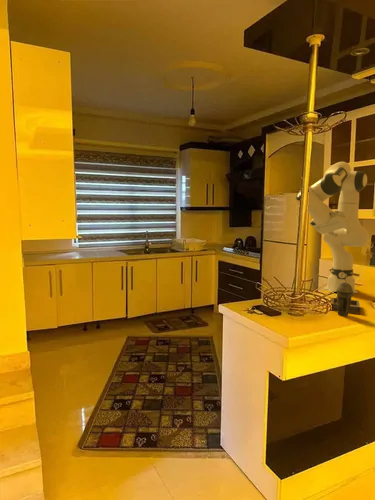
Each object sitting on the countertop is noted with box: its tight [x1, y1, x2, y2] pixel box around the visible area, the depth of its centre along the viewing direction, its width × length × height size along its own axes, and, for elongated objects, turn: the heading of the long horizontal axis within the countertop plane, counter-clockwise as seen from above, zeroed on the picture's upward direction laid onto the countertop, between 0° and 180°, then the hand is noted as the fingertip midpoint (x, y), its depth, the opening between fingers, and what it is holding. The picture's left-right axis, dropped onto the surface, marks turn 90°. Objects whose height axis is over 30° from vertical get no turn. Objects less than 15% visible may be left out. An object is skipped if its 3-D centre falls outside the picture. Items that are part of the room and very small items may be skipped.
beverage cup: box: [336, 274, 354, 317], centre depth 168 cm, size 7×7×20 cm
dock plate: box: [331, 297, 362, 315], centre depth 179 cm, size 14×14×3 cm
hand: (343, 234), depth 171 cm, fingers open, 8 cm apart
